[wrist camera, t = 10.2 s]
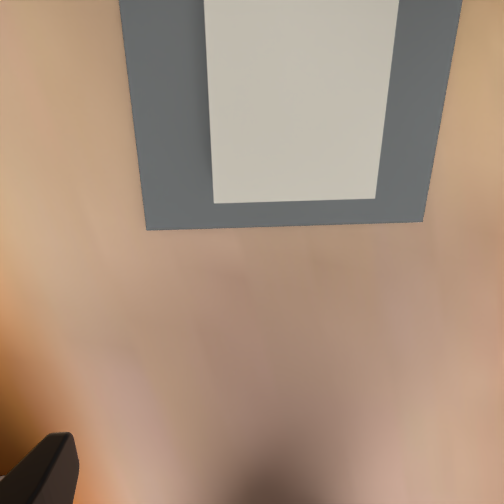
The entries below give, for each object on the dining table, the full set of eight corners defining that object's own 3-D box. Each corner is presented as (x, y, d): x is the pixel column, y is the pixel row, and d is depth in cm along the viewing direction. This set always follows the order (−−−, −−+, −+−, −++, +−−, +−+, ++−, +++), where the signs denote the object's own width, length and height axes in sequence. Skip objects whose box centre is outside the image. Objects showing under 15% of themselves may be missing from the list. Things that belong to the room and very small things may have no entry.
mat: (419, 218, 20) (422, 221, 20) (147, 226, 19) (146, 230, 19) (493, -205, 14) (500, -211, 13) (95, -215, 13) (92, -222, 13)
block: (374, 198, 17) (429, -252, 11) (213, 203, 16) (191, -258, 11) (358, 181, 19) (399, -211, 13) (214, 185, 18) (195, -215, 13)
